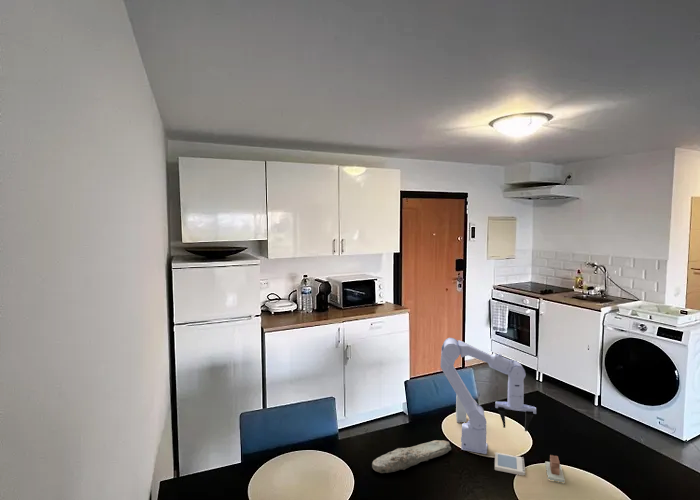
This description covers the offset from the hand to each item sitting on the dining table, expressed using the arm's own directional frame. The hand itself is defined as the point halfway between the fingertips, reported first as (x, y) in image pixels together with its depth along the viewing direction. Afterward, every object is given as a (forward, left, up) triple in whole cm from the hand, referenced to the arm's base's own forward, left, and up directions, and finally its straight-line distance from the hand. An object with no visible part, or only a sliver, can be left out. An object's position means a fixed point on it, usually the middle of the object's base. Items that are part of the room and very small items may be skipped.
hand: (514, 428), depth 153 cm
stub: (+13, -10, -9) cm, 19 cm away
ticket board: (-2, -10, -9) cm, 14 cm away
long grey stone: (-36, -19, -10) cm, 42 cm away
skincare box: (-22, +20, -10) cm, 31 cm away
